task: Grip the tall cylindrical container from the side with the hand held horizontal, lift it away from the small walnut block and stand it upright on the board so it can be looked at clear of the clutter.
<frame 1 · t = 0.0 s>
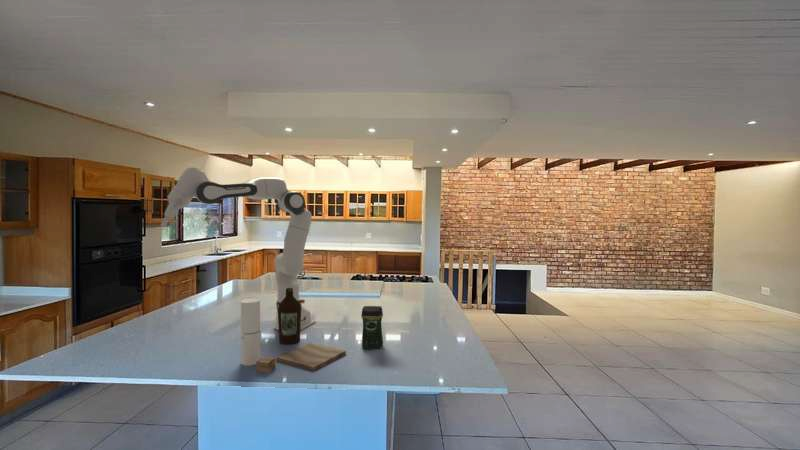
hand: (162, 226, 170), 54 cm above the countertop, tool tilted 30°, fingers open, 8 cm apart
olive oil: (289, 341, 179), on the countertop
cylindrical container: (251, 362, 154), on the countertop
walnut block: (266, 369, 147), on the countertop
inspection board: (312, 357, 159), on the countertop
coffee jar: (372, 347, 172), on the countertop
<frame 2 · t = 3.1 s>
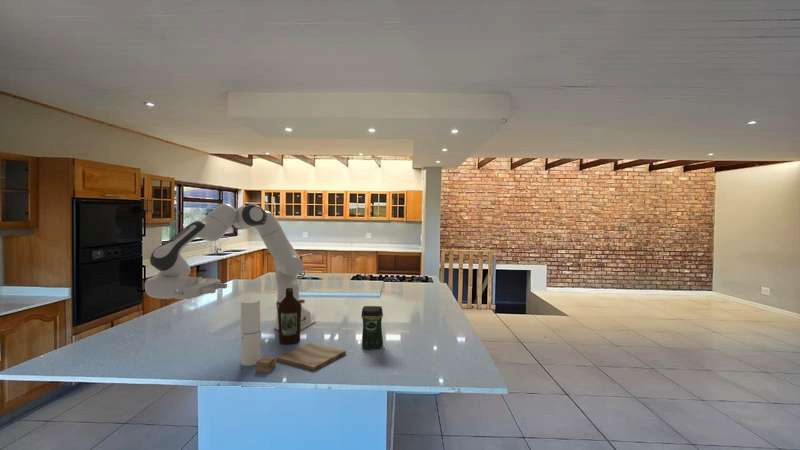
hand: (220, 288, 153), 30 cm above the countertop, tool horizontal, fingers open, 8 cm apart
nothing on the countertop moved.
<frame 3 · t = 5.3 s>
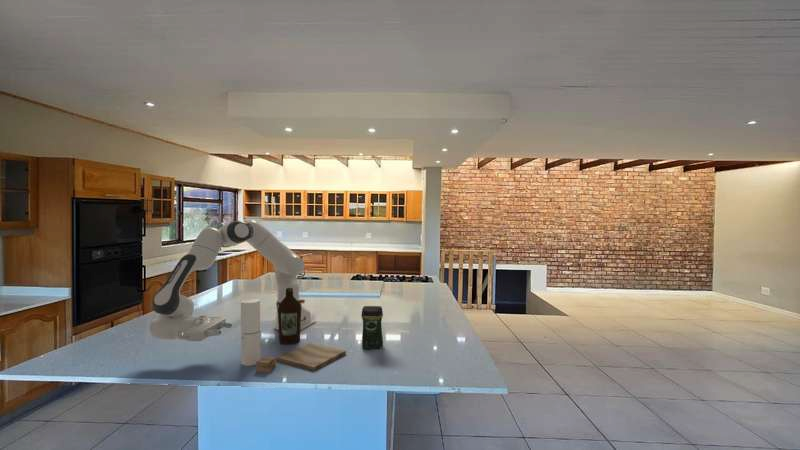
hand: (225, 328, 154), 13 cm above the countertop, tool horizontal, fingers open, 8 cm apart
nothing on the countertop moved.
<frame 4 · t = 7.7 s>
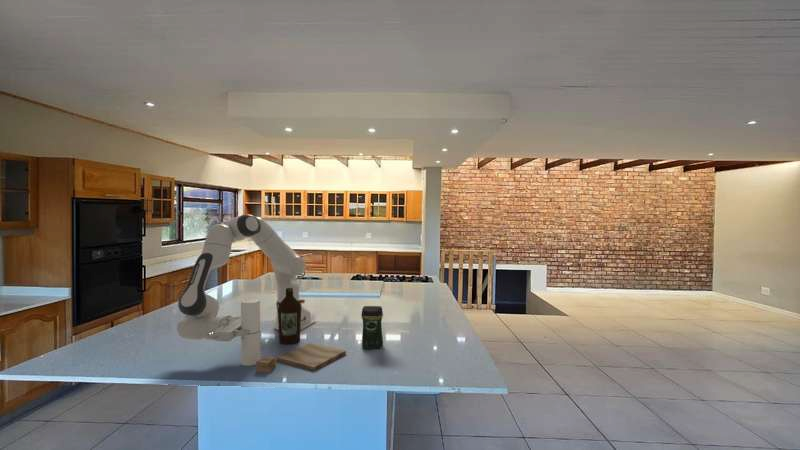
hand: (252, 329, 154), 14 cm above the countertop, tool horizontal, fingers closed on cylindrical container, 7 cm apart
cylindrical container: (251, 362, 154), on the countertop, touching gripper
everything else where it was.
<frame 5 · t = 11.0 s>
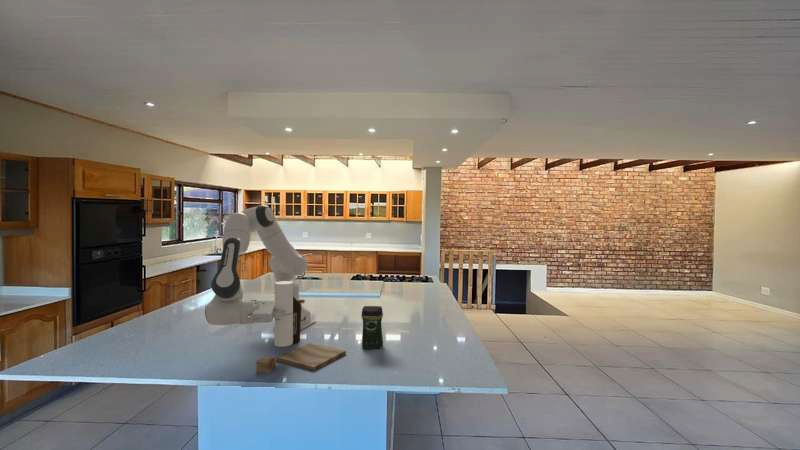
hand: (286, 310, 155), 21 cm above the countertop, tool horizontal, fingers closed on cylindrical container, 7 cm apart
cylindrical container: (283, 344, 155), point 7 cm above the countertop, touching gripper
everything else where it was.
when the fingers open (16 cm above the countertop, at t = 13.9 s): cylindrical container drops 1 cm, resting on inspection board.
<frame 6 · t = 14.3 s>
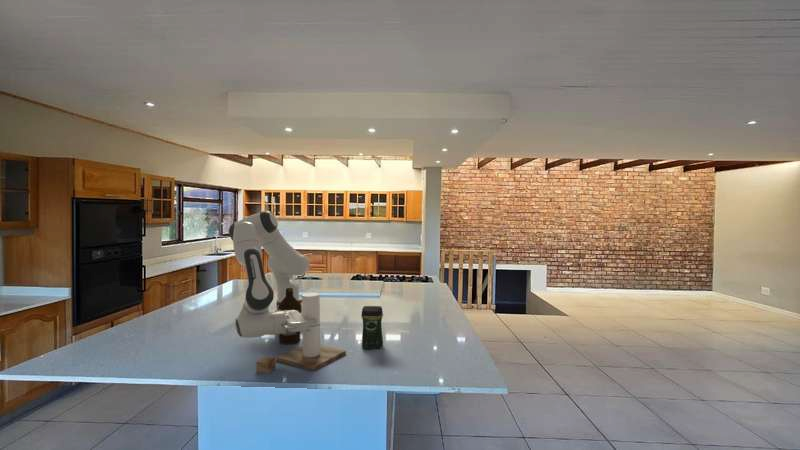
hand: (313, 318, 159), 16 cm above the countertop, tool horizontal, fingers open, 8 cm apart
cylindrical container: (311, 354, 159), point 1 cm above the countertop, touching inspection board
everything else where it was.
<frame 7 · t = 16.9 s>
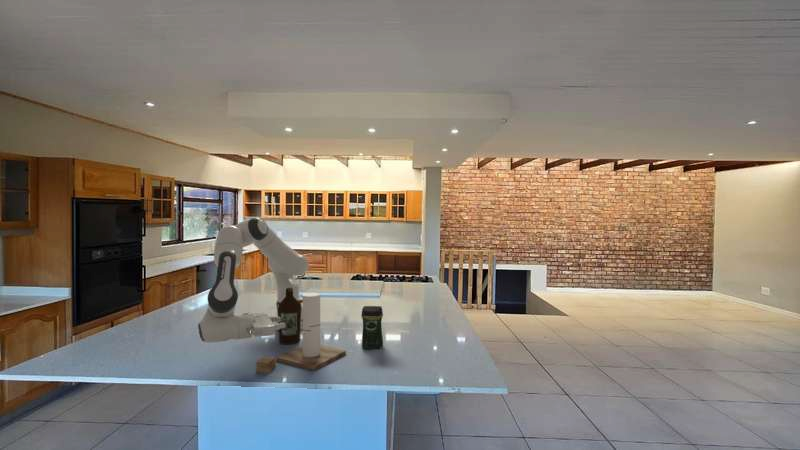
hand: (282, 321, 153), 17 cm above the countertop, tool horizontal, fingers open, 8 cm apart
nothing on the countertop moved.
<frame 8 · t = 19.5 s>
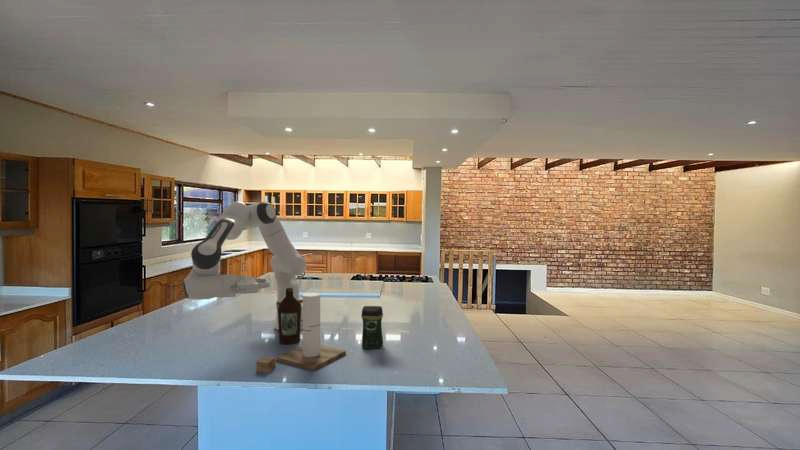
hand: (267, 282, 155), 32 cm above the countertop, tool horizontal, fingers open, 8 cm apart
nothing on the countertop moved.
at the end: cylindrical container inside the target area on the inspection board (0.1 cm from its centre), point 1.3 cm above the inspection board's base; cylindrical container tilted 0°; the gripper is holding nothing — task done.
